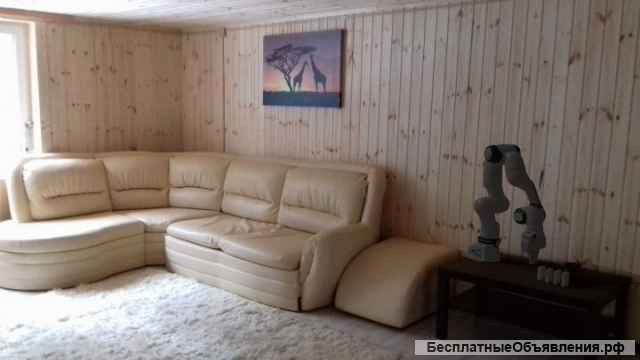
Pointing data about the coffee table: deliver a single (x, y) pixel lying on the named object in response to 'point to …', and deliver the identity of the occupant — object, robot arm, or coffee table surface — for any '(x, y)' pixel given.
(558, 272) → the domino
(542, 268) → the domino
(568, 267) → the box
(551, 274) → the domino
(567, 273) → the domino
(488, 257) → the robot arm
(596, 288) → the coffee table surface
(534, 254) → the domino
